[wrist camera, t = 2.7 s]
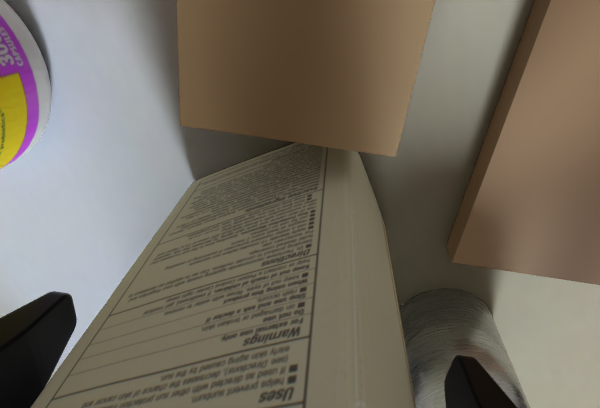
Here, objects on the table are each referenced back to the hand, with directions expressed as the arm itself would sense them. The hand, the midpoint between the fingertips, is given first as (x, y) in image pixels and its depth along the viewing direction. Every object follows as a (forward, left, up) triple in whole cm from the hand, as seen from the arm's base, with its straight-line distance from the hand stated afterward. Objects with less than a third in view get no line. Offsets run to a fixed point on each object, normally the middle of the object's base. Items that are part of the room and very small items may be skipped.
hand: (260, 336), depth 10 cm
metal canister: (-7, +5, -7) cm, 11 cm away
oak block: (0, -6, -7) cm, 9 cm away
